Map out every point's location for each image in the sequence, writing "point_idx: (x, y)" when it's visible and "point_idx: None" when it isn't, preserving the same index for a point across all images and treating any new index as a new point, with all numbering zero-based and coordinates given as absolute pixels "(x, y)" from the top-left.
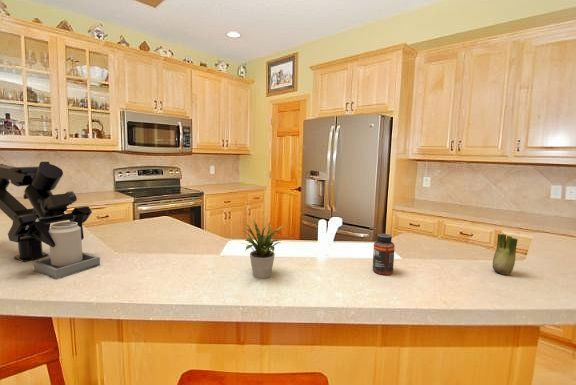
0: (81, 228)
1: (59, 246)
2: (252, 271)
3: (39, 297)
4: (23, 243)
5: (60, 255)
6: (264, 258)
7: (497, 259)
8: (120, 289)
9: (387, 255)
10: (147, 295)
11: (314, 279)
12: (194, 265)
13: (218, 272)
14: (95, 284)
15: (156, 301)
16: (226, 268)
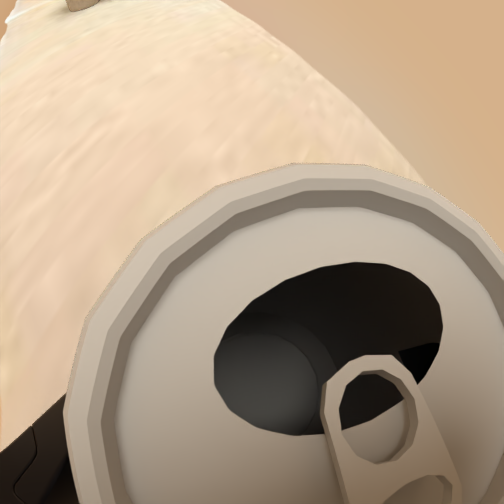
0: (52, 420)
1: (370, 309)
2: (88, 2)
3: (410, 176)
4: None
5: (338, 322)
6: None
7: None
8: (248, 66)
9: None
10: (234, 29)
11: None
12: (55, 65)
13: (86, 27)
14: (273, 123)
15: (241, 17)
16: (64, 32)
